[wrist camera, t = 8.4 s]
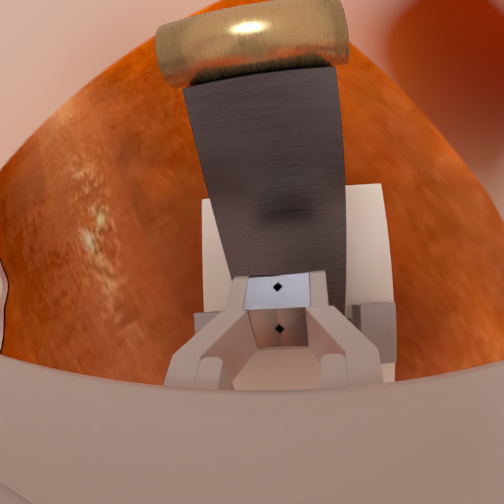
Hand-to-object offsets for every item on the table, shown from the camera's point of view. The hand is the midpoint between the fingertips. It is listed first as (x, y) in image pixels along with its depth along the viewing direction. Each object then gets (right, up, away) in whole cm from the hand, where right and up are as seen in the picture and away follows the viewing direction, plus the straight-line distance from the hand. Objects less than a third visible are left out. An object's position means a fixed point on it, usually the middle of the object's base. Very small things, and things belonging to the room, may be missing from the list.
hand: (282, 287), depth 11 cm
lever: (+2, -3, +7) cm, 8 cm away
